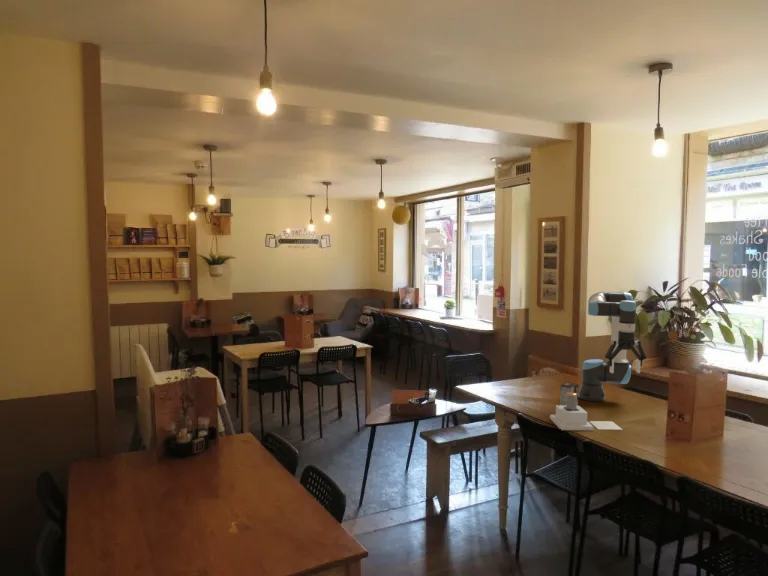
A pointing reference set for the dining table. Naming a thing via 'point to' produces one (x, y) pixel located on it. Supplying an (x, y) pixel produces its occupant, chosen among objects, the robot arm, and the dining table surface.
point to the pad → (605, 425)
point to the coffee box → (568, 388)
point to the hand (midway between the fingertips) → (624, 372)
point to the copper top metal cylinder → (571, 401)
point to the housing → (571, 419)
